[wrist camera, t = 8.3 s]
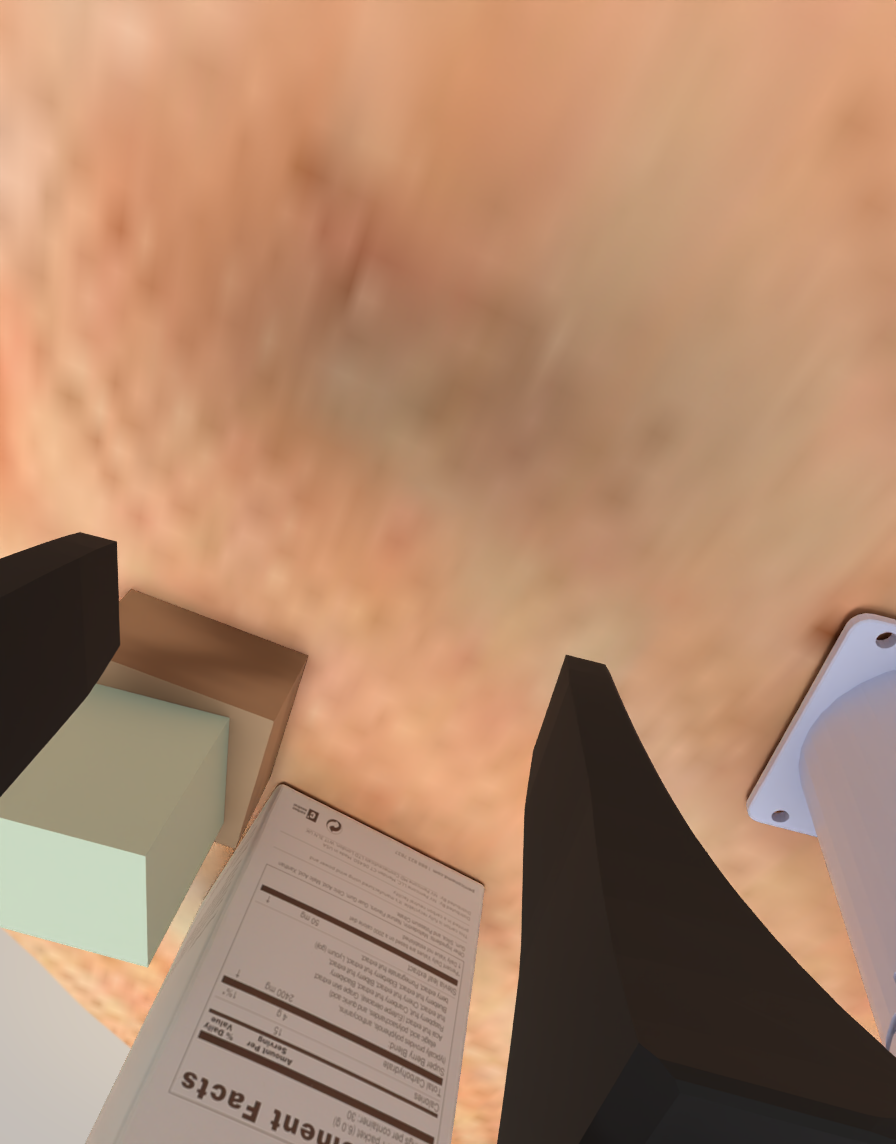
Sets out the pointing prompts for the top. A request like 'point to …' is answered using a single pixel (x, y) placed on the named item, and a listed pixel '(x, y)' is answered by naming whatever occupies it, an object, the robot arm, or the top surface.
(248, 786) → the walnut block
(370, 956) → the supplement box
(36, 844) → the sage block
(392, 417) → the top surface
